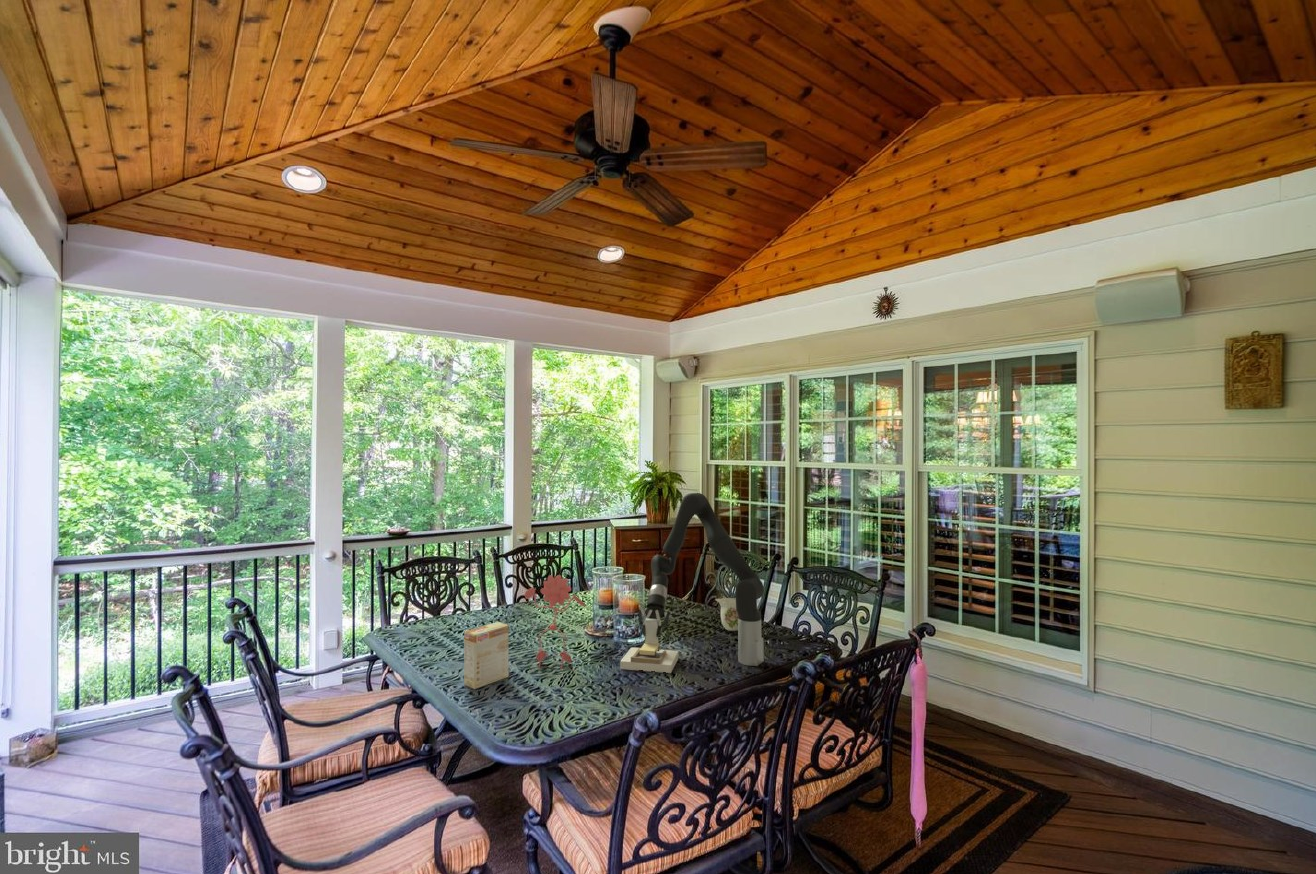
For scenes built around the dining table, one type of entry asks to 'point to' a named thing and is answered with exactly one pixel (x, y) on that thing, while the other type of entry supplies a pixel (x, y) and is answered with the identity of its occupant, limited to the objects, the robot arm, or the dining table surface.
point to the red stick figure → (554, 593)
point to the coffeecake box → (486, 655)
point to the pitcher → (729, 613)
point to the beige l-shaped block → (650, 639)
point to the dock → (650, 661)
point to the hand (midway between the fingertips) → (650, 635)
